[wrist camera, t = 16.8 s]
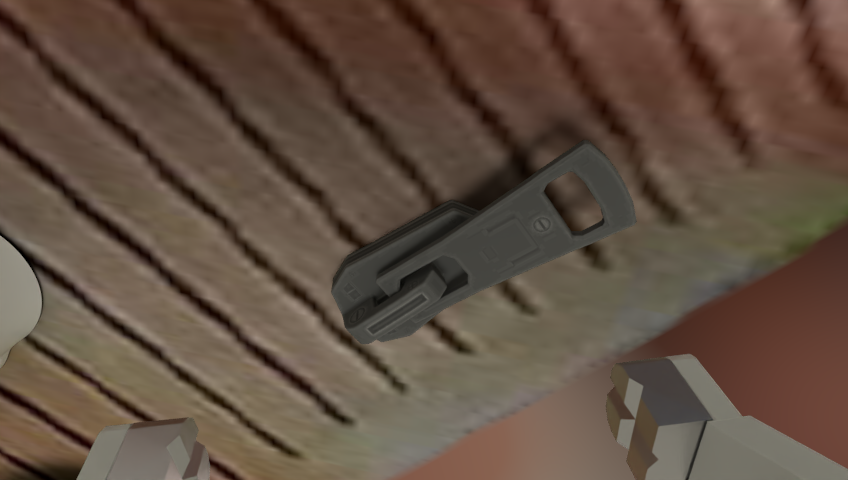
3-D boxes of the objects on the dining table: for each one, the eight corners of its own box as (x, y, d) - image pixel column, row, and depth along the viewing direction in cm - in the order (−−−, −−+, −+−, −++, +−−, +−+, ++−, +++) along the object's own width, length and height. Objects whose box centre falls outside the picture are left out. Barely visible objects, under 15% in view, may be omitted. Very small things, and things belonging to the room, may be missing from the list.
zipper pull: (650, 225, 40) (380, 389, 46) (617, 189, 46) (381, 338, 52) (594, 129, 36) (308, 321, 42) (565, 103, 42) (317, 275, 48)
